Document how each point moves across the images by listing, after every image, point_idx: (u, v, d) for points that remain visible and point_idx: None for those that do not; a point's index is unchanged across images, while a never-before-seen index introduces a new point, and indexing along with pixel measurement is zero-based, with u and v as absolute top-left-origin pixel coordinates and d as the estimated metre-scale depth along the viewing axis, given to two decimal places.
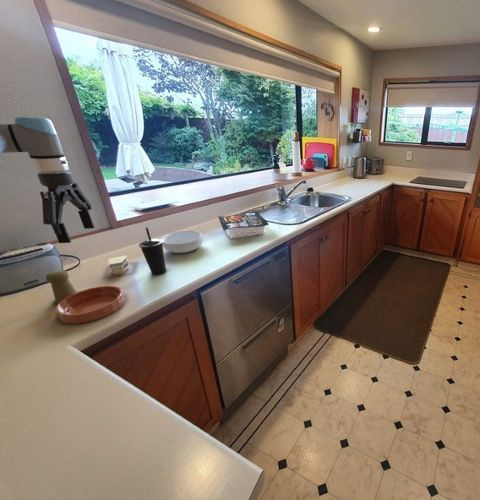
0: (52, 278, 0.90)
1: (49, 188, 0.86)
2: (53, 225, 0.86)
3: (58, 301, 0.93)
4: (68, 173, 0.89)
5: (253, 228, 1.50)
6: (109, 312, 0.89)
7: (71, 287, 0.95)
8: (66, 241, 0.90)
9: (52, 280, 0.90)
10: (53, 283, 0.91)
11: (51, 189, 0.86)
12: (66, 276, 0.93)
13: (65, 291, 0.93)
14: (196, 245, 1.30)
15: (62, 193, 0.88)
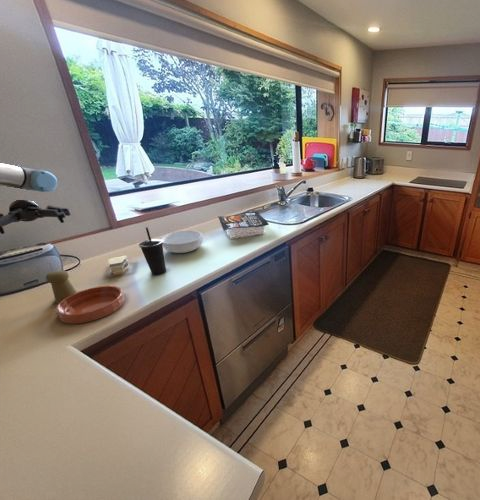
0: (52, 278, 0.90)
1: None
2: (63, 213, 1.00)
3: (58, 301, 0.93)
4: None
5: (253, 228, 1.50)
6: (109, 312, 0.89)
7: (71, 287, 0.95)
8: None
9: (52, 280, 0.90)
10: (53, 283, 0.91)
11: None
12: (66, 276, 0.93)
13: (65, 291, 0.93)
14: (196, 245, 1.30)
15: None
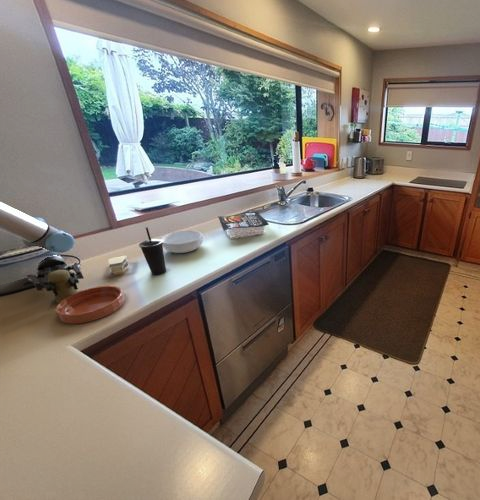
0: (53, 277, 0.90)
1: (67, 265, 1.04)
2: (76, 277, 0.97)
3: (58, 301, 0.93)
4: None
5: (253, 228, 1.50)
6: (109, 312, 0.89)
7: (72, 287, 0.95)
8: (76, 286, 0.93)
9: (54, 280, 0.90)
10: (54, 282, 0.91)
11: None
12: (67, 276, 0.93)
13: (66, 290, 0.93)
14: (196, 245, 1.30)
15: None
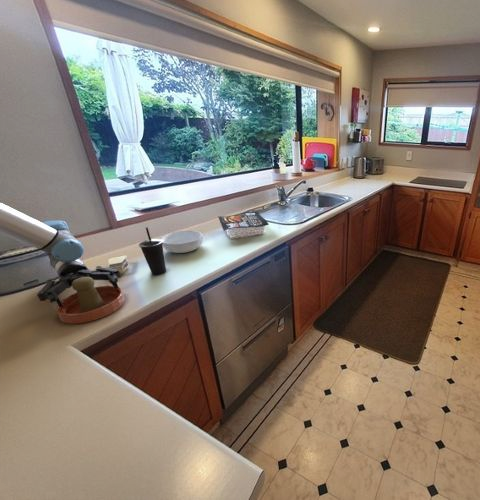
0: (78, 285, 0.85)
1: (89, 270, 0.99)
2: (115, 276, 0.97)
3: (84, 309, 0.89)
4: None
5: (253, 228, 1.50)
6: (109, 312, 0.89)
7: (97, 294, 0.90)
8: None
9: (79, 288, 0.86)
10: (79, 291, 0.86)
11: None
12: (92, 283, 0.88)
13: (91, 299, 0.89)
14: (196, 245, 1.30)
15: None
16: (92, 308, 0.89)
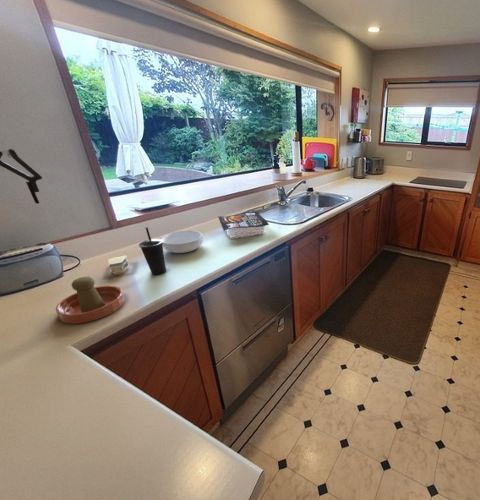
0: (78, 285, 0.85)
1: None
2: None
3: (84, 309, 0.89)
4: None
5: (253, 228, 1.50)
6: (109, 312, 0.89)
7: (97, 294, 0.90)
8: None
9: (79, 288, 0.86)
10: (79, 291, 0.86)
11: None
12: (92, 283, 0.88)
13: (91, 299, 0.89)
14: (196, 245, 1.30)
15: None
16: (92, 308, 0.89)
